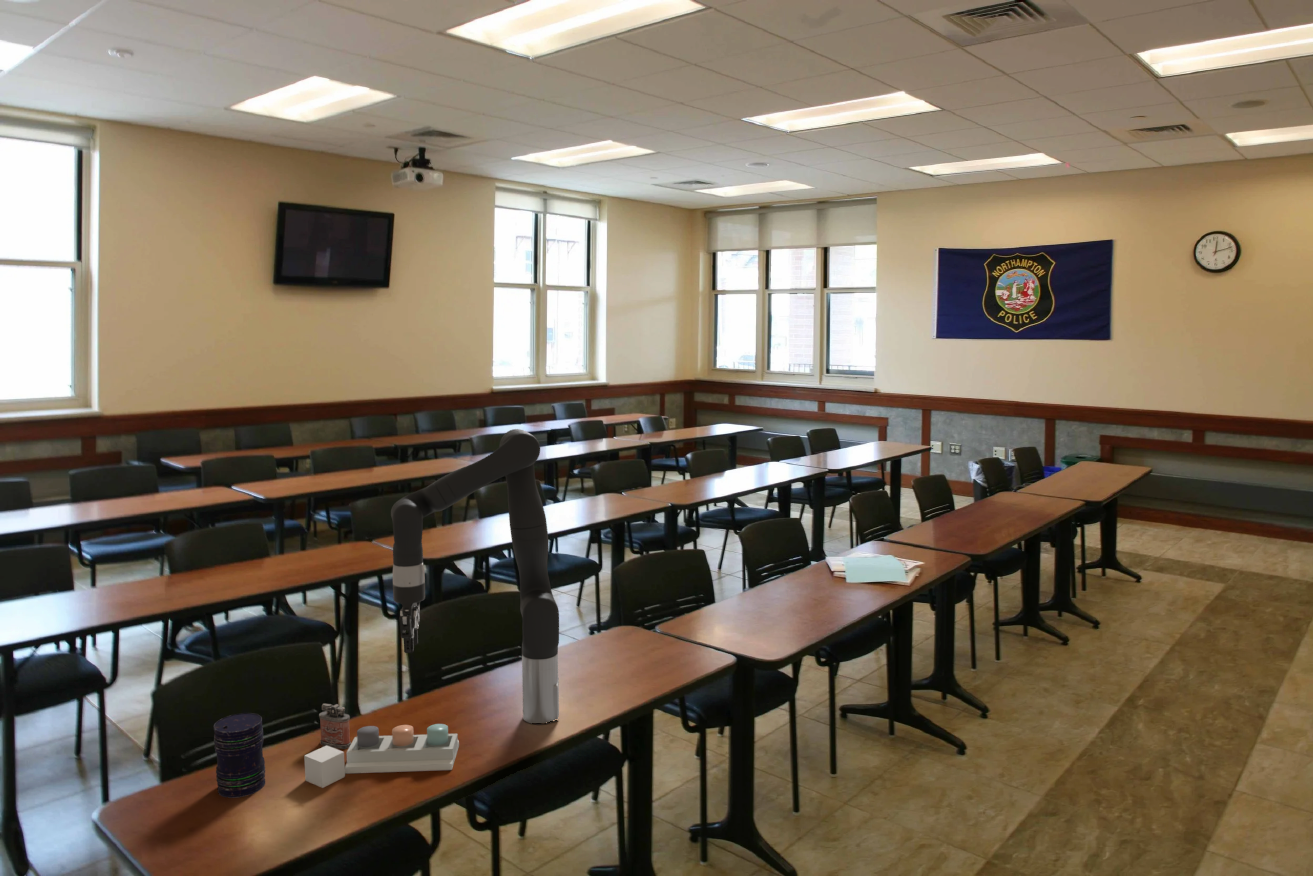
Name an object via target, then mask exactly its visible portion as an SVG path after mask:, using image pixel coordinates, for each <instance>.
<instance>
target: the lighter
mask: <svg viewBox="0 0 1313 876" xmlns="http://www.w3.org/2000/svg"><path fill="white" fill-rule="evenodd" d="M321 710H322V712H320V713H319V714H318V717H319V720H320V721H319V722H320V724H319V725H320V740H319V741H320V743H319V744H320V745H322V746H323V747H324V746H326V745H327V746H330V747H332V748H335V749H338V750H340V749H343V750H345V749H349V747H350V745H351V743H352V742H351V739H350V737H351V734H350V719H351V716H350V714H347V713H345V710H346V708H345V707H344V706H340V704H338V703H336V704H334V705H333V704H331V703H322V705H321Z"/></svg>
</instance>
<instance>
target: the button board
mask: <svg viewBox="0 0 1313 876" xmlns="http://www.w3.org/2000/svg"><path fill="white" fill-rule="evenodd" d="M459 747H460V741H459V739H458V733H448V741H447V742H446V743H444V744H441V745H431V744H429V743H428V742H427V734H414V741H413V743H411V744H409V745H406V746H395V745H393V741H392V735H379V743H378V744H377V745H375V746H372V747H360V746H358V743H357V736H354V738H353V740H352V742H351V745H350V747H349V748H347V750H346V764H345V775H346V774H369V773H397V772H399V773H400V772H401V773H402V772H429V771H452V770H453V767H454V764H455V760H456V757H457V755H458V750H459Z"/></svg>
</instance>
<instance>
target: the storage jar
mask: <svg viewBox="0 0 1313 876" xmlns="http://www.w3.org/2000/svg"><path fill="white" fill-rule="evenodd" d="M213 731H214V733H213V735H214V736H213V743H214V752H215V753H216V768H215V774H216V776H215V777H216V779H215V780H216V783H217V784H216V785H217V794H218V793H219V794H218V795H219V796H220V797H224V798H227V797H228V799H233V798H234V799H235V798H237V799H238V798H242V797H247V795H248V796H250V795H253V794H255V793H257V792H260V791H261V790H262V789H263V788H264V787H265V785H266V761H265V758H264V755H263V754H264V753H263V744H264V738H265V737H264V729H263V717H262V716H261V715H259V714H258V713H255V712H254V713H252V712H243V713H242V712H241V713H240V712H239V713H236V714H231V715H227V716H224V717H223V718H221V719H219V720H217V721H216V722H215V723H214V724H213Z"/></svg>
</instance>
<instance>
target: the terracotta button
mask: <svg viewBox="0 0 1313 876" xmlns="http://www.w3.org/2000/svg"><path fill="white" fill-rule="evenodd" d="M414 735H415V733H414V726H412V725H409V724H401V725H397V726H395V727H393V728H392V730H391V736H392V741H393V745H395V746H406V745H409V744H411V743H413V741H414Z"/></svg>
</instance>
